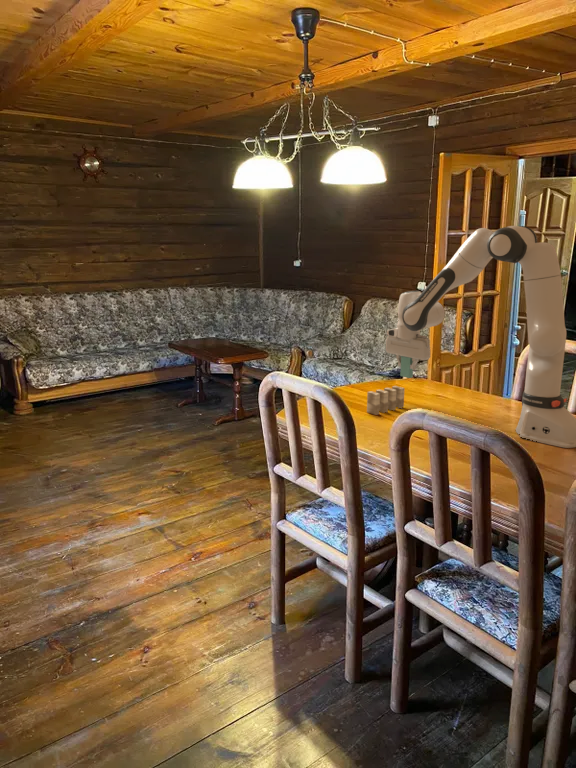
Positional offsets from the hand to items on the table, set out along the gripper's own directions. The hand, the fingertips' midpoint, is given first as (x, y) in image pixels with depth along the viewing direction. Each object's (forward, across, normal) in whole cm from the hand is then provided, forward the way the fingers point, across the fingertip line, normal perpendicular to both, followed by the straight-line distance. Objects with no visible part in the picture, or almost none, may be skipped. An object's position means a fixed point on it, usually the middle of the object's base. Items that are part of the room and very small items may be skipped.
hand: (406, 367), depth 232 cm
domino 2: (+15, 0, +13) cm, 20 cm away
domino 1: (+15, 0, +18) cm, 24 cm away
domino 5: (+4, 0, 0) cm, 4 cm away
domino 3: (+15, 0, +9) cm, 18 cm away
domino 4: (+15, 0, +4) cm, 16 cm away
